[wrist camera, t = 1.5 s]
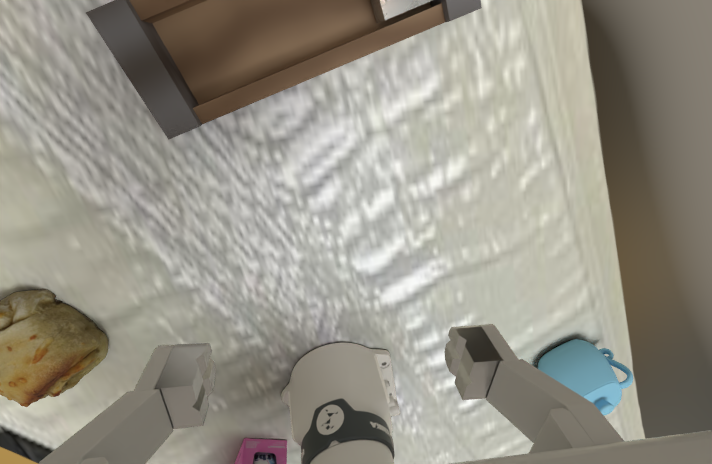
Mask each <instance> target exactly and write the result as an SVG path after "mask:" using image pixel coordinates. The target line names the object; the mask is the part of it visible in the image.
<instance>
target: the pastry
mask: <svg viewBox="0 0 712 464" xmlns="http://www.w3.org/2000/svg"><path fill="white" fill-rule="evenodd" d="M55 297H56V296H55V294H53V293H52V292H51V291H49V290H46V289H40V290H29V291H22V292H15V293H13V294H11V295H9V296H7V297H6V298H4V299H2V300H1V301H0V395H2V396H5V397H7V398H8V400H14V401H16V402H18V403H19V404H20V405H21V406H25V407H27V406H29V405H30V404H31V403H33V402H36V401H38V400H39V399H42V398H45V397H46V396H48V395H49V396H51V397H56V396H59V395H60V393H63V392H64V391H66V390H67V389H70V388H72V387H74V386H75V385H76V384H77V383H78V382H79V381H80V379H81V378H82V377H83V376H84V375H86V374H87V373H88V372H90V371H91V370H92V369H93V368H94V367H95V366H97V365H98V364H99V363H100V362H101V361H102V360H103V359H104V358H105V357H106V354H107V352H108V339H107V336H106V334H104V333H103V332H102V331H101V330H100V329H99V328H98V327H97V325H96V324H95V323H93V321H92V320H90V319H89V318H88V317H87V316H85V315H84V314H81V313H80V312H78V311H77V310H76V309H74V308H72V307H70V306H69V305H67V304H64V303H62V301H58V300H55Z"/></svg>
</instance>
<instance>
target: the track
mask: <svg viewBox="0 0 712 464" xmlns="http://www.w3.org/2000/svg"><path fill="white" fill-rule="evenodd" d="M480 8H481V1H480V0H432V1H430V2H427V3H425V4H423V5H420V6H418V7H416V8H413V9H411V10H408V11H406V12H404V13H401V14H399V15H397V16H394V17H392V18H389V19H387V20H385V21H382V22H379V23H377V22H376V19H375V15H374V11H373V8H372V4H371V1H370V0H115V1H112V2H110V3H108V4H105V5H103V6H101V7H98V8H96V9H94V10H91V11H89V12H86V14H87V15H88V17H89V18H90V20H91V21H92V23H93V24H94V26H95V27H96V29H97V30H98V32H99V33H100V35H101V37H102V38H103V40H104V41H105V43H106V44H107V46H108V47H109V49H110V50H111V52H112V53H113V55H114V56H115V58H116V60H117V61H118V63H119V64H120V66H121V67H122V69H123V70H124V72H125V73H126V75H127V76H128V78H129V79H130V81H131V82H132V84H133V86H134V87H135V89H136V90H137V92H138V93H139V95H140V96H141V98H142V99H143V101H144V102H145V104H146V105H147V107H148V108H149V110H150V112H151V113H152V115H153V116H154V118H155V119H156V121H157V122H158V124H159V125H160V127H161V128H162V130H163V131H164V133H165V135H166V136H167V138H168V139H171V138H173V137H175V136H178V135H180V134H183V133H185V132H187V131H190V130H192V129H194V128H197V127H199V126H201V125H202V124H204V123H206V122H209V121H211V120H214V119H216V118H218V117H221V116H223V115H225V114H228V113H230V112H233V111H235V110H237V109H240V108H242V107H245V106H247V105H249V104H252V103H254V102H256V101H259V100H261V99H264V98H266V97H268V96H271V95H273V94H275V93H278V92H280V91H283V90H285V89H287V88H290V87H292V86H294V85H297V84H299V83H302V82H304V81H306V80H309V79H311V78H314V77H316V76H318V75H321V74H323V73H325V72H328V71H330V70H333V69H335V68H337V67H340V66H342V65H344V64H347V63H349V62H352V61H354V60H356V59H359V58H361V57H363V56H366V55H368V54H371V53H373V52H375V51H378V50H380V49H382V48H385V47H387V46H390V45H392V44H394V43H397V42H399V41H402V40H404V39H406V38H409V37H411V36H413V35H416V34H418V33H421V32H423V31H425V30H428V29H430V28H432V27H435V26H437V25H440V24H442V23H444V22H448V21H451V20H454V19H456V18H459V17H461V16H463V15H466V14H468V13H470V12H473V11H475V10H478V9H480Z"/></svg>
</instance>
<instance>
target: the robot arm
mask: <svg viewBox="0 0 712 464" xmlns="http://www.w3.org/2000/svg"><path fill="white" fill-rule="evenodd" d="M448 336H449V338H450V341H449V342H448V343H447V344H446V347H445V360H446V364H447V367H448V369H449V371H450V372H451V373H452V374H453V375H455V376H456V379H455V385H456V387H457V389H458V391H459V393H460V396H461V398H462V400H469V399H483V398H486V400H487V401H488V402H489V403H490V404H491V405H493V406H494V407H495V408H496V409H497V410H498V411H499V412H500V413H501V414H502V415H503V416H505V417H506V418H507V419H508V420H509V421H510V422H511V423H512V424H513V425H514V426H515V427H517V428H518V429H519V430H520V431H521V432H522V433H523V434H524V435H525V436H526V437H527V438H529V439H530V440H531V441H532V442H533V443H534V444H533V446H532V448H531V450H530V452H529V454H522V455H514V456H506V457H498V458H490V459H482V460H474V461H466V462H458V463H450V464H712V430H711V431H703V432H696V433H688V434H680V435H672V436H664V437H656V438H648V439H640V440H632V441H624V440H623V439H622V438H621V437H620V435H619V434H618V433H617V432H616V430H615V429H614V428H613V427H612V425H611V424H610V423H609V422H608V421H607V419H606V418H605V417H604V416H603V414H602V413H601V412H600V411H599V410H598V408H597V407H596V406H595V405H594V404H593V403H592V402H590V401H589V400H587V399H585V398H584V397H582V396H580V395H579V394H577V393H576V392H574V391H572V390H571V389H569V388H568V387H566V386H564V385H563V384H561V383H560V382H558V381H556V380H555V379H553V378H552V377H550V376H548V375H547V374H545V373H544V372H542V371H540V370H539V369H537V368H536V367H534V366H532V365H531V364H529V363H528V362H526V361H524V360H523V359H520V360H519V359H518V358H517V357H516V355H515V354H514V352H513V351H512V350H511V348H510V347H509V345H508V344H507V342H506V341H505V340H504V338H503V337H502V335H501V334H500V332H499V331H498V330H497V328H496V327H495V326H494V325H493V324H486V325H472V326H459V327H451V329H450V330H449V334H448ZM211 353H212V350H211V346H210V344H209V343H201V344H177V345H160V346H158V347H157V348H156V349H155V350H154V351H153V353H152V355H151V357H150V359H149V361H148V363H147V365H146V367H145V369H144V371H143V373H142V375H141V377H140V379H139V381H138V383H137V385H136V387H135V389H134V391H130V392H127V393H126V394H125V395H123V396H122V397H121V398H120V399H118V400H117V401H116V402H115V403H113V404H112V405H111V406H109V407H108V408H107V409H106V410H104V411H103V412H102V413H101V414H99V415H98V416H97V417H96V418H94V419H93V420H92V421H91V422H89V423H88V424H87V425H86V426H84V427H83V428H82V429H81V430H79V431H78V432H77V433H76V434H74V435H73V436H72V437H71V438H69V439H68V440H67V441H65V442H64V443H63V444H62V445H60V446H59V447H58V448H57V449H55V450H54V451H53V452H52V453H50V454H49V455H48V456H47V457H45V458H44V459H43V460H42V461H40V463H39V464H146V462H147V461H148V460H149V459H150V458H151V457H152V455H153V454H154V453H155V452H156V451H157V450H158V448H159V447H160V446H161V445H162V444H163V442H164V441H165V440H166V439H167V438H168V437H169V435H170V434H171V433H172V432H173V429H178V428H186V427H194V426H202V425H204V421H205V417H206V414H207V410H208V406H209V403H208V399H207V397H208V396H209V395H210V394H211V393H212V391H213V387H214V383H215V374H216V373H215V363H214V361H213V360H212V359H210V356H211ZM281 397H282V401H283V403H285V404H286V405H287V406H289V407H290V418H291V429H292V437H293V440H294V441H296V442H297V443H298V444H299V445H300V446H301V464H394V445H393V440H392V436H391V435H392V433H393V428H392V422H391V417H392V416H396V415H400V409H399V406H398V402H397V397H396V391H395V384H394V378H393V371H392V365H391V358H390V354H389V352H388V351H387V350H381V349H369V348H366V347H364V346H361V345H358V344H353V343H333V344H328V345H325V346H322V347H319V348H317V349H315V350H313V351H311V352H309V353H308V354H306V355H305V356H304V357H302V358H301V359H300V360H299V361H298V363H297V364H296V365H295V367H294V369H293V371H292V374H291V378H290V382H289V384H288V385H287V386H286V387H285V389H284V390H283V391H282V393H281Z"/></svg>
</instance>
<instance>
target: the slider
mask: <svg viewBox="0 0 712 464" xmlns="http://www.w3.org/2000/svg"><path fill="white" fill-rule="evenodd" d="M370 1H371V4H372V8H373V11H374V15H375V19H376V22H377V23H379V22H382V21H385V20H387V19H389V18H392V17H394V16H397V15H399V14H401V13H404V12H406V11H408V10H411V9H413V8H416V7H418V6H420V5H423V4H425V3H427V2H430V1H432V0H370Z"/></svg>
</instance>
